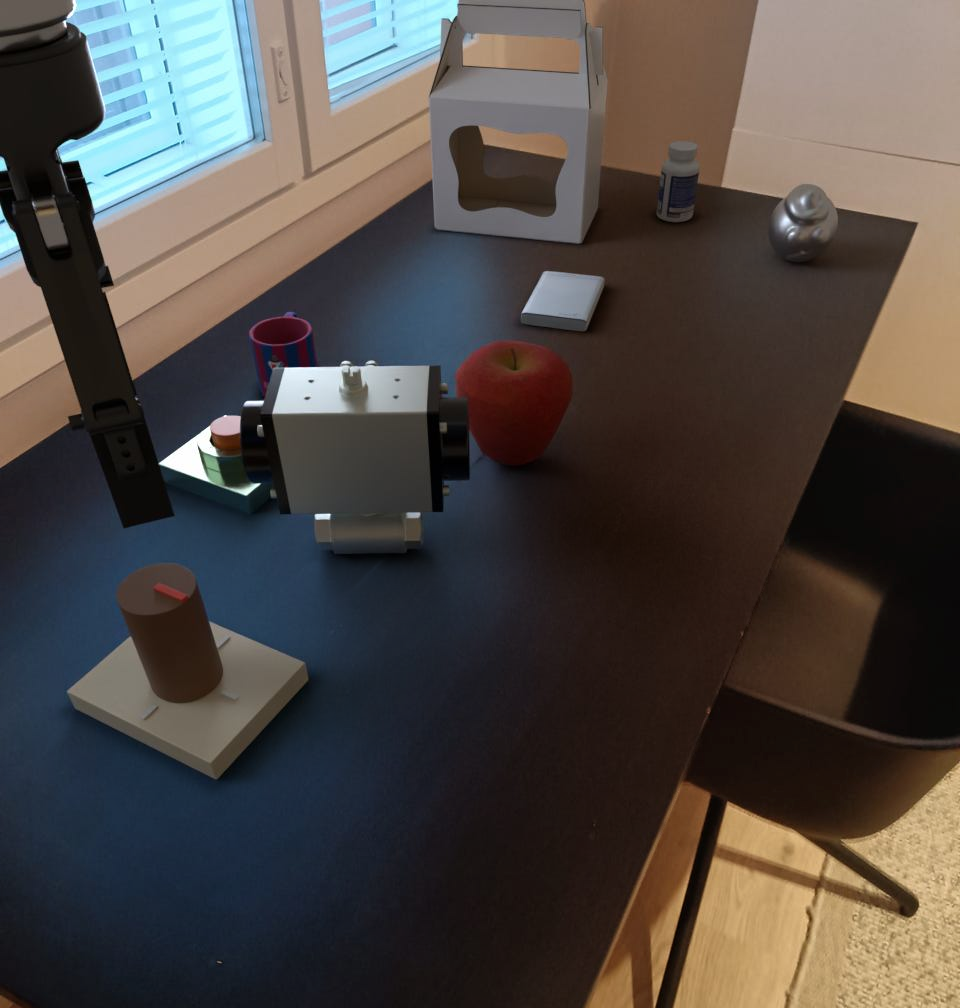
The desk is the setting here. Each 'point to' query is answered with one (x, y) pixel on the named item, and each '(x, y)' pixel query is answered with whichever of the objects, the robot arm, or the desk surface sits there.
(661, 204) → the pill bottle
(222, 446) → the button
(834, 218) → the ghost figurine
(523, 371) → the apple
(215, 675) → the knob
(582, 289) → the hard drive
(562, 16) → the gable box
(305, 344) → the mug
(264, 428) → the ball valve
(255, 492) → the button box
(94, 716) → the panel
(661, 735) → the desk surface
